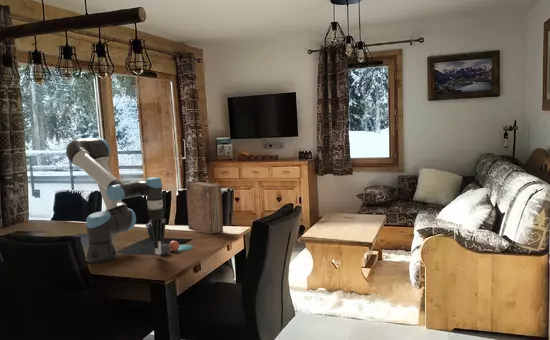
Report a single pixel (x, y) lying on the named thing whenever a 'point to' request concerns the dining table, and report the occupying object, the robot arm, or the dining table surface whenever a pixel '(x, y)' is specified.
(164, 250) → the gray ball
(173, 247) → the object ball
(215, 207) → the book
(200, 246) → the dining table surface
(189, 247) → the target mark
